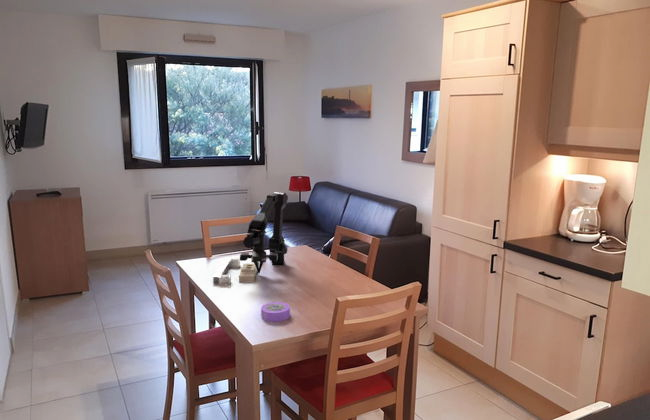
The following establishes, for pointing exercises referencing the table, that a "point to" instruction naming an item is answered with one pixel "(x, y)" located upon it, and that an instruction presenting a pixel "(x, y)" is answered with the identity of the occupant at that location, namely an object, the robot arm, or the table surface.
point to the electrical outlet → (248, 273)
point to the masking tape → (275, 311)
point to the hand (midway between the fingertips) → (259, 272)
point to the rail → (220, 274)
